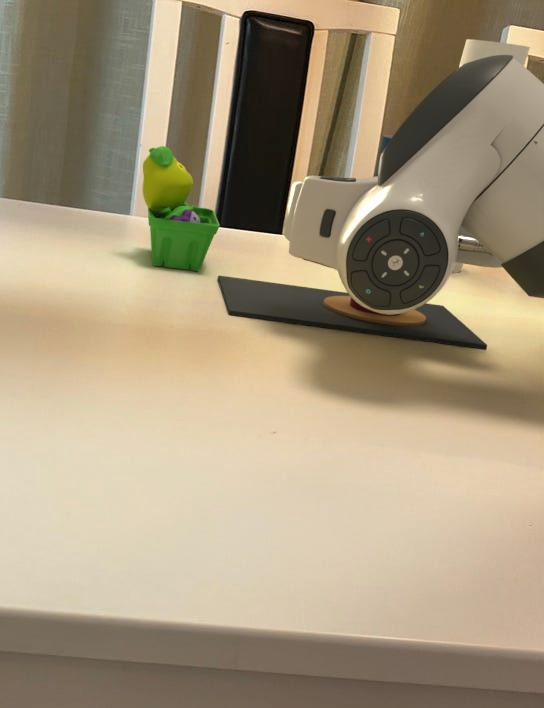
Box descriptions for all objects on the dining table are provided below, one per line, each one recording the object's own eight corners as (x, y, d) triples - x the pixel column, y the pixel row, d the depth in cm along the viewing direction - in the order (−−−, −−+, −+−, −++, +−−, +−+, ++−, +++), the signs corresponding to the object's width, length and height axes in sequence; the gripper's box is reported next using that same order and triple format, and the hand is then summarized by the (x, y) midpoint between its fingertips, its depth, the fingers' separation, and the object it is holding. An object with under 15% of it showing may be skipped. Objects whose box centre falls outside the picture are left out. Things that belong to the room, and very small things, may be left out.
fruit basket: (212, 275, 107) (233, 160, 102) (129, 265, 107) (146, 148, 101) (205, 256, 117) (224, 149, 111) (130, 246, 117) (145, 139, 111)
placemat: (442, 309, 106) (444, 302, 106) (486, 349, 93) (488, 341, 92) (217, 279, 106) (218, 272, 106) (228, 314, 93) (230, 306, 92)
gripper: (541, 213, 80) (525, 196, 92) (287, 173, 84) (302, 161, 95) (514, 294, 83) (501, 267, 95) (270, 252, 87) (286, 231, 99)
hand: (399, 214), depth 95 cm, fingers open, 8 cm apart
